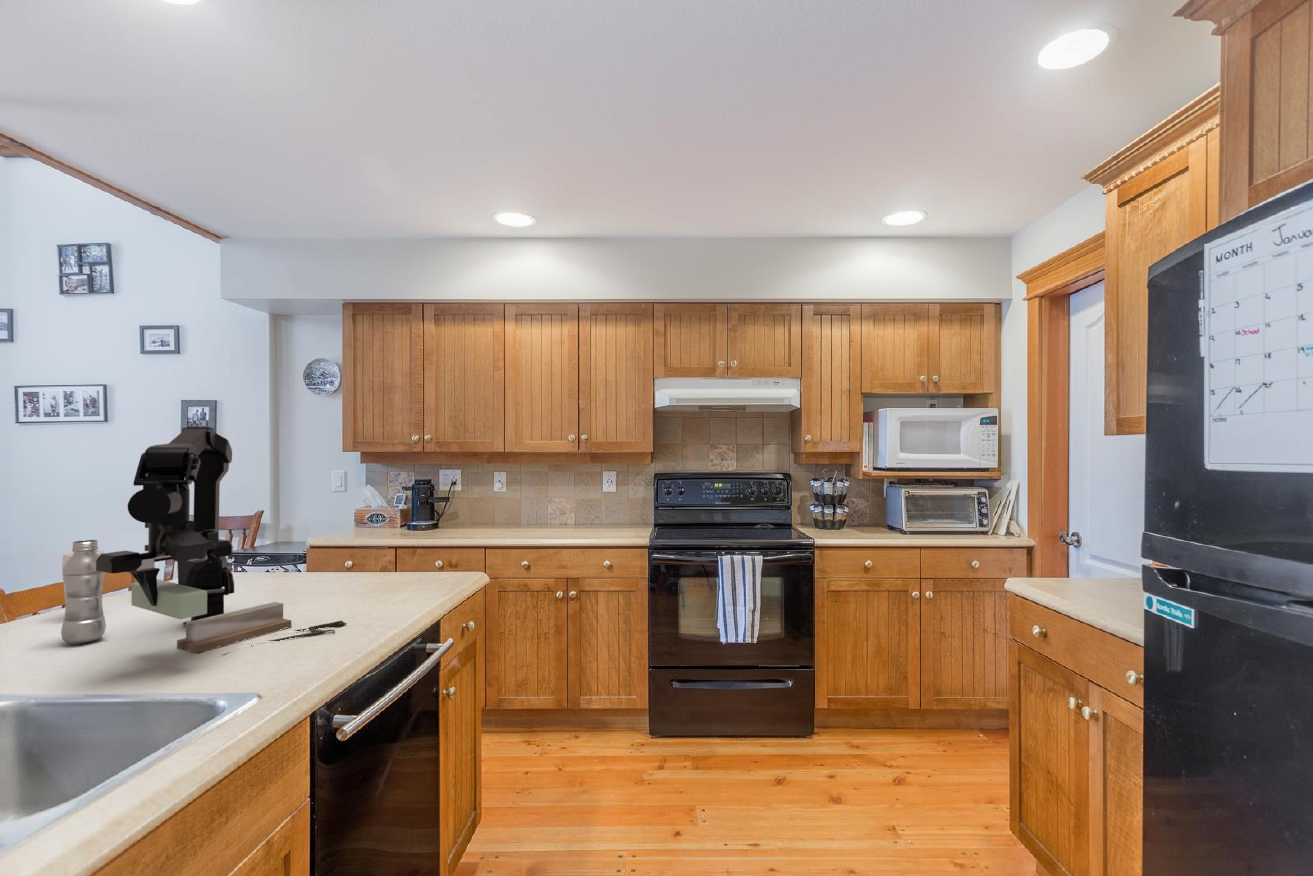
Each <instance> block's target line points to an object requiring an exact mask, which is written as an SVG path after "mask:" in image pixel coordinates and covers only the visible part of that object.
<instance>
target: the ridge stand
mask: <svg viewBox="0 0 1313 876" xmlns="http://www.w3.org/2000/svg"><path fill="white" fill-rule="evenodd" d="M189 621H190V622H186V621H185V622H186V625H185V637H183V638H179V639H177V640H176V648H177V647H178V648H177V649H179V648H181V649H180V650H183V649H184V651H187V650H190V651H189V652H191V651H194V652H193V653H195V652H196V654H200V653H199V652H201V653H203V652H202V651H204V652H206V651H205V650H208V651H210V649H211V650H213V649H212V648H215V649H217V648H216V647H218V646H222V647H225V645H226V646H228V645H227V644H229V645H231V644H230V643H233V642H236V641H240V642H243V641H242V640H244V639H247V640H249V639H248V638H251V637H254V636H258V637H261V636H260V635H262V636H264V635H263V634H265V635H267V634H266V633H269V632H272V633H275V632H274V631H276V632H278V631H277V630H280V629H283V628H285V627H290V628H292V619H288V618H284V603H283V602H278V601H273V602H269V603H264V604H260V605H255V606H251V607H247V608H243V609H239V610H232V611H230V612H229V611H228V612H226V613H225V612H224V614H220V615H216V616H212V617H208V618H203V619H199V620H195V621H191V620H189ZM283 630H284V629H283ZM280 631H281V630H280ZM269 634H270V633H269ZM254 638H255V637H254ZM251 639H252V638H251ZM244 641H245V640H244ZM233 644H234V643H233Z"/></svg>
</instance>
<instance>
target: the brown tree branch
mask: <svg viewBox="0 0 1313 876" xmlns="http://www.w3.org/2000/svg"><path fill="white" fill-rule="evenodd" d="M347 624H348V623H347V622H344V621H342V620H338V621H334V622H327V623H322V624H318V625H314V626H313V625H312V626H308V628H302V629H301V628H300V629H295V630H294V631H301V630H303V631H302V632H305V631H304V630H306V629H309V630H311V631H310V632H309V630H307V631H306V633H302V634H296V635H295V634H294V635H292V636H286V637H280V638H276V639H275V638H274V639H270V640H268V641H277V642H281V641H280V640H285V639H289V638H295V637H302V636H308V637H313V635H314V636H318V634H319V635H321V636H322V635H323V636H324V635H326V633H327V635H330V634H333V633H335V632H336V631H335V629H326V628H325V627H334V628H343V627H344V626H345V625H347ZM318 628H325V629H318ZM316 629H317V630H316ZM325 632H326V633H325ZM302 638H303V637H302ZM285 641H286V640H285ZM251 646H252V645H251ZM252 647H253V646H252ZM227 653H228V652H226V653H223V654H224V655H223V654H221V655H223V656H226V655H225V654H227ZM227 655H228V654H227Z"/></svg>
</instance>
